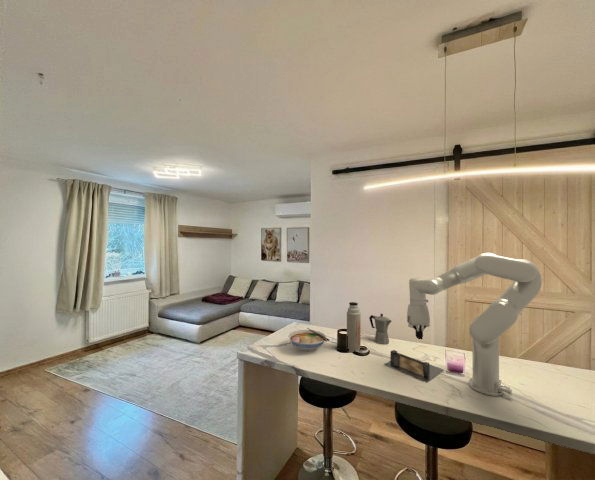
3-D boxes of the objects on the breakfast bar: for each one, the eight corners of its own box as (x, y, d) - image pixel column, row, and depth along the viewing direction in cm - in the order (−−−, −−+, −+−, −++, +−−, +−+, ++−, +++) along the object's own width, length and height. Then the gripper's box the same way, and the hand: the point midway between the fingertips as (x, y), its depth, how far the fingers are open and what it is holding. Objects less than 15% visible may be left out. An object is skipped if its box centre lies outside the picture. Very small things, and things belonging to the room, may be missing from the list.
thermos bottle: (363, 350, 153) (363, 303, 153) (353, 354, 149) (353, 305, 149) (353, 346, 160) (353, 300, 160) (343, 349, 155) (344, 302, 155)
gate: (424, 374, 124) (424, 361, 124) (422, 375, 123) (422, 362, 123) (397, 363, 135) (397, 351, 135) (395, 364, 134) (395, 352, 134)
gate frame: (444, 370, 130) (443, 356, 130) (427, 382, 119) (427, 367, 119) (402, 355, 147) (402, 343, 147) (384, 364, 136) (384, 351, 136)
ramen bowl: (281, 344, 163) (282, 330, 163) (313, 338, 173) (313, 325, 173) (298, 360, 140) (298, 345, 140) (334, 353, 150) (334, 338, 150)
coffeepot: (394, 342, 165) (394, 314, 165) (387, 346, 159) (387, 317, 159) (373, 336, 176) (373, 309, 176) (365, 339, 170) (365, 312, 170)
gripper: (428, 300, 137) (429, 335, 137) (400, 301, 137) (401, 336, 136) (436, 303, 130) (437, 340, 129) (407, 304, 129) (408, 341, 129)
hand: (419, 338), depth 133 cm, fingers closed
